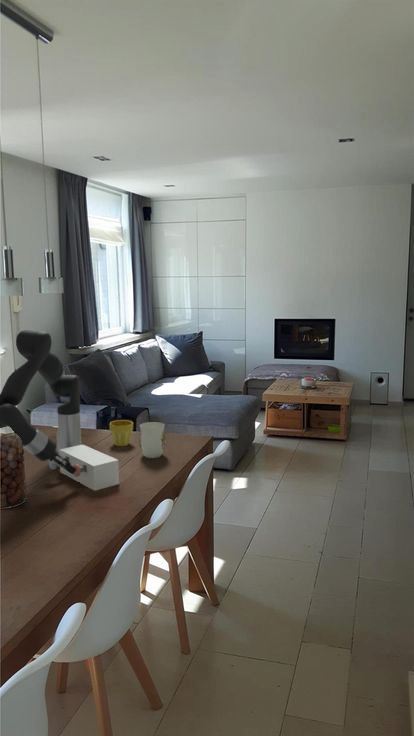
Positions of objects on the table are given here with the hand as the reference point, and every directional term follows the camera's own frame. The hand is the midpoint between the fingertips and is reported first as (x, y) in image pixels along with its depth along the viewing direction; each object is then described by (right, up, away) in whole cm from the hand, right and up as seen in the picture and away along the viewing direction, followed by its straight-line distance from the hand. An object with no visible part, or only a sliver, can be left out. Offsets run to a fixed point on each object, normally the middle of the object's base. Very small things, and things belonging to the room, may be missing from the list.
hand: (73, 471), depth 203 cm
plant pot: (+9, +2, +55) cm, 56 cm away
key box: (+3, -5, +12) cm, 13 cm away
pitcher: (+24, 0, +39) cm, 46 cm away
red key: (+4, -2, +3) cm, 5 cm away
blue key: (-7, 0, +11) cm, 13 cm away
